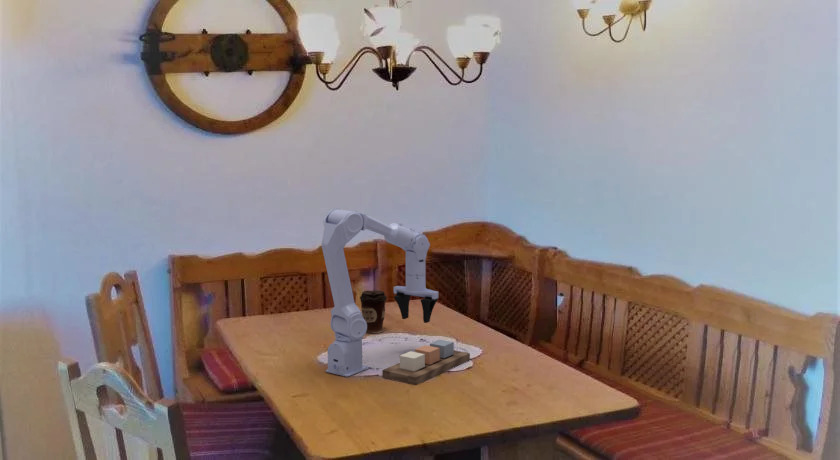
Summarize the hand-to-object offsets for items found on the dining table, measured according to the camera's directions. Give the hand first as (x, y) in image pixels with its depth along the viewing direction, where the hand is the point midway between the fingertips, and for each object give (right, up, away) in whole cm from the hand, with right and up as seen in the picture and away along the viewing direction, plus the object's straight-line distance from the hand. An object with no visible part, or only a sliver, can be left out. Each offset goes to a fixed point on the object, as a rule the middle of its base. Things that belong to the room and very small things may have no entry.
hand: (415, 320), depth 232 cm
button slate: (+7, -9, -7) cm, 13 cm away
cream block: (-1, -11, -18) cm, 21 cm away
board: (+3, -12, -12) cm, 17 cm away
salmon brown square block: (+3, -10, -12) cm, 16 cm away
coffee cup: (-14, -7, +27) cm, 31 cm away
